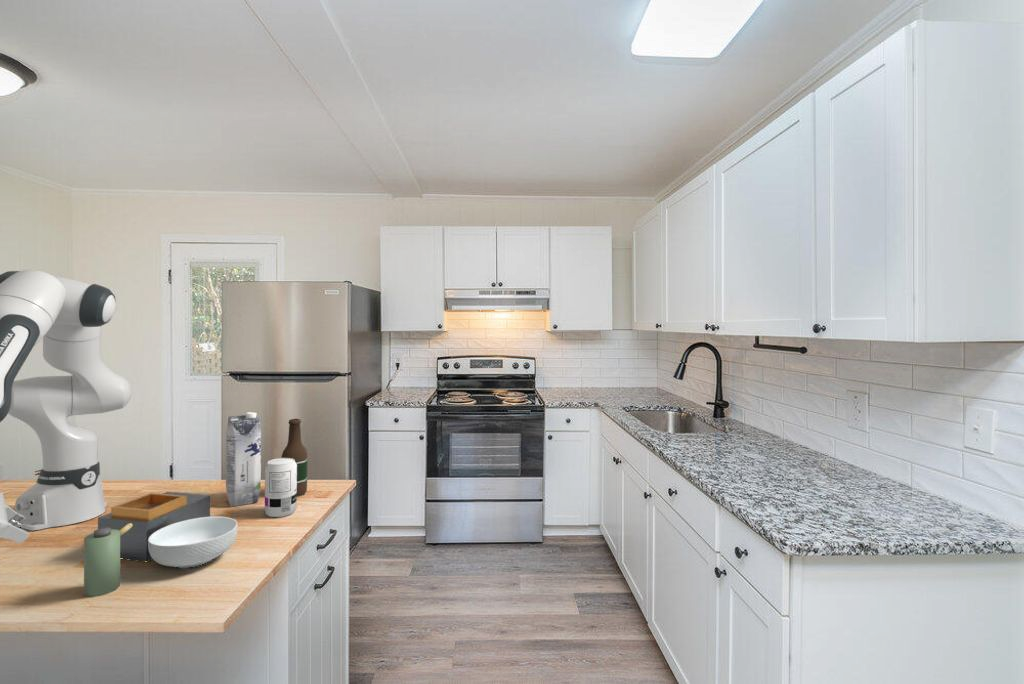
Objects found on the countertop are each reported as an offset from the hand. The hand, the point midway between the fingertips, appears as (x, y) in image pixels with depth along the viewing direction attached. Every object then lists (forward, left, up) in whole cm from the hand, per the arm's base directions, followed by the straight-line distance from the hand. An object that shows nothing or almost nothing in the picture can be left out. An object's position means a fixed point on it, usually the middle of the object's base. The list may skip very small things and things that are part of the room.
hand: (23, 530), depth 87 cm
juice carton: (-2, +58, -15) cm, 60 cm away
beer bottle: (+9, +67, -15) cm, 70 cm away
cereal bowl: (+14, +23, -16) cm, 31 cm away
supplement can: (+15, +52, -15) cm, 57 cm away
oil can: (+6, +10, -15) cm, 19 cm away
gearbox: (-4, +29, -15) cm, 33 cm away
